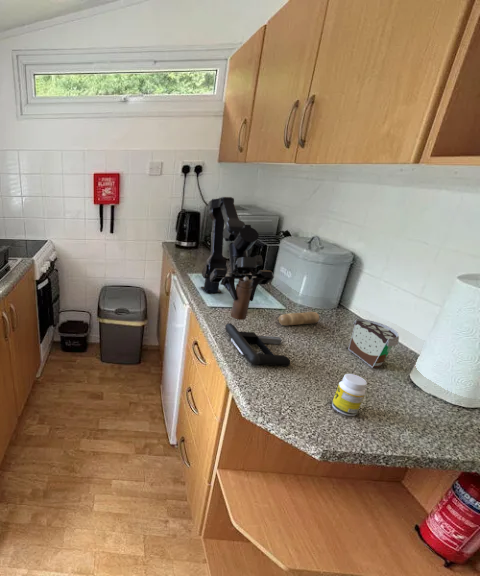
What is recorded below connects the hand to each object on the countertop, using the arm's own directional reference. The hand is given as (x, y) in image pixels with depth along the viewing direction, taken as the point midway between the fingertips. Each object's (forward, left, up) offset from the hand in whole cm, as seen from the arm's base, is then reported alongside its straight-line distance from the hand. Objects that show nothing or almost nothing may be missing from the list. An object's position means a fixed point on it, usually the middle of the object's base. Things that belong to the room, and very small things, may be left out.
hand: (243, 300), depth 101 cm
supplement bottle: (+37, +3, -11) cm, 39 cm away
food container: (+21, +29, -11) cm, 38 cm away
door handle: (+11, 0, -11) cm, 16 cm away
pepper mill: (-2, 0, -7) cm, 7 cm away
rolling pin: (-1, +24, -11) cm, 27 cm away
